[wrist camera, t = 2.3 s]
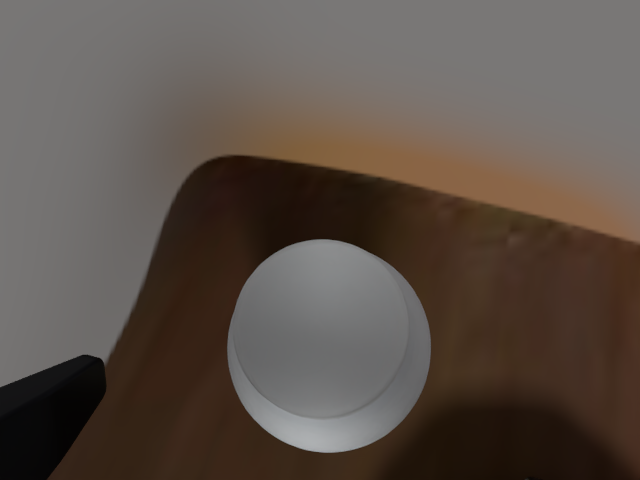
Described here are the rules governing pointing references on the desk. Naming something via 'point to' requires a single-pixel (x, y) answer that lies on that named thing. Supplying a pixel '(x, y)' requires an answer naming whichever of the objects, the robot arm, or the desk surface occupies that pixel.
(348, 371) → the supplement bottle
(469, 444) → the desk surface
